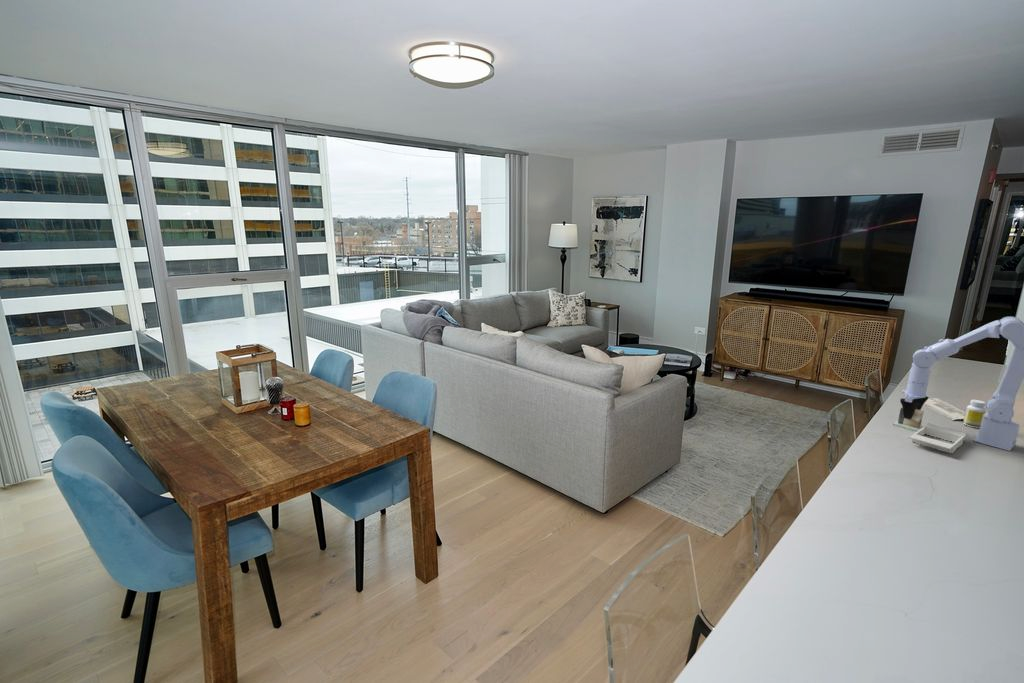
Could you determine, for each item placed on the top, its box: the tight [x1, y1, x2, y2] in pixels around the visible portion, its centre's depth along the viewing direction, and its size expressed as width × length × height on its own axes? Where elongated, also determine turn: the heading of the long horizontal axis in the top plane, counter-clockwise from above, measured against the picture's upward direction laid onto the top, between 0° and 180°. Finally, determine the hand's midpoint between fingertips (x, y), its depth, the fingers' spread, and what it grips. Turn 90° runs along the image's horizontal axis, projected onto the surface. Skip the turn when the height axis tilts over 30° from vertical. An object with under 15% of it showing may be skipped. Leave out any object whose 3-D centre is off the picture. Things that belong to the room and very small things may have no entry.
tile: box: [892, 420, 925, 432], centre depth 189 cm, size 8×7×1 cm
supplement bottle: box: [962, 399, 987, 429], centre depth 188 cm, size 5×5×10 cm
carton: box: [908, 422, 968, 454], centre depth 174 cm, size 11×20×3 cm, turn 126°
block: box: [897, 406, 925, 428], centre depth 188 cm, size 6×4×6 cm, turn 36°
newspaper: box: [922, 397, 966, 421], centre depth 205 cm, size 23×12×2 cm, turn 175°
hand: (910, 416), depth 188 cm, fingers open, 7 cm apart
